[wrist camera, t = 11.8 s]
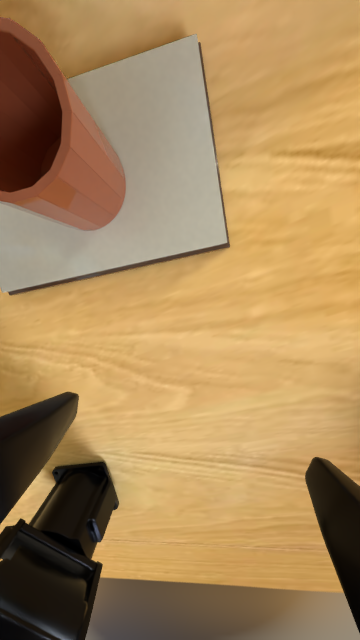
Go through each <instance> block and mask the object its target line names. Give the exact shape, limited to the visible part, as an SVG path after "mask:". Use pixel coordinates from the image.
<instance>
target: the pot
mask: <svg viewBox="0 0 360 640" xmlns="http://www.w3.org/2000/svg"><path fill="white" fill-rule="evenodd" d="M125 193H126V178H125V172H124V169H123V166H122V163H121V161H120V159H119V157H118V155H117V153H116V152H115V150H114V149H113V147H112V146H111V144H110V143H109V141H108V140H107V138H106V137H105V135H104V134H103V132H102V131H101V129H100V128H99V126H98V125H97V123H96V122H95V120H94V119H93V117H92V116H91V114H90V113H89V111H88V110H87V108H86V107H85V105H84V104H83V102H82V101H81V99H80V98H79V96H78V95H77V93H76V92H75V90H74V89H73V87H72V86H71V84H70V83H69V81H68V80H67V78H66V77H65V75H64V74H63V72H62V71H61V69H60V68H59V66H58V65H57V63H56V62H55V60H54V59H53V57H52V56H51V54H50V53H49V51H48V50H47V48H46V47H45V45H44V44H43V42H41V40H40V39H38V38H37V37H35V36H34V35H33V34H31V33H30V32H29V31H27V30H26V29H24V28H23V27H22V26H20V25H19V24H18V23H16V22H15V21H13V20H11V19H9V18H2V17H0V203H1V204H4V205H7V206H9V207H12V208H15V209H18V210H21V211H24V212H26V213H29V214H32V215H35V216H38V217H40V218H43V219H46V220H49V221H52V222H55V223H57V224H60V225H63V226H66V227H69V228H73V229H77V230H81V231H92V230H97V229H100V228H102V227H104V226H106V225H107V224H109V223H110V222H111V221H112V220H113V219H114V218H115V217H116V216H117V214H118V213H119V211H120V209H121V207H122V205H123V202H124V198H125Z"/></svg>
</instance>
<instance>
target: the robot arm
mask: <svg viewBox="0 0 360 640" xmlns="http://www.w3.org/2000/svg"><path fill="white" fill-rule="evenodd" d="M78 400H79V396H78V394H76V393H72V392H65V393H62V394H60V395H57V396H54V397H52V398H49V399H46V400H44V401H41V402H39V403H36V404H33V405H31V406H28V407H25V408H23V409H20V410H17V411H15V412H12V413H9V414H7V415H4V416H1V417H0V524H1V523H2V521H3V520H4V519H5V517H6V516H7V515H8V513H9V512H10V511H11V509H12V508H13V507H14V505H15V504H16V503H17V501H18V500H19V499H20V497H21V496H22V495H23V493H24V492H25V491H26V490H27V488H28V487H29V486H30V484H31V483H32V482H33V480H34V479H35V478H36V476H37V475H38V474H39V472H40V471H41V470H42V468H43V467H44V466H45V464H46V463H47V462H48V460H49V459H50V457H51V456H52V454H53V452H54V451H55V449H56V448H57V446H58V444H59V443H60V441H61V440H62V438H63V436H64V435H65V433H66V432H67V430H68V428H69V427H70V425H71V424H72V422H73V420H74V419H75V417H76V414H77V407H78ZM52 474H53V476H54V479H55V481H56V484H55V486H54V487H53V489H52V490H51V492H50V493H49V495H48V496H47V498H46V499H45V501H44V502H43V504H42V505H41V507H40V508H39V510H38V511H37V513H36V514H35V516H34V517H33V519H32V520H31V522H30V523H29V524H27V523H25V520H23V519H21V518H20V520H19V521H18V522H17V524H16V525H15V526H14V525H13V526H6V527H5V528H4V530H3V531H2V532H1V534H0V559H3V560H2V561H1V562H0V640H85V637H86V634H87V630H88V626H89V622H90V617H91V613H92V609H93V604H94V600H95V596H96V591H97V587H98V583H99V578H100V574H101V570H102V565H103V564H102V563H100V562H98V561H97V562H95V561H93V560H91V558H92V555H93V553H94V550H95V547H96V545H97V542H101V540H102V539H103V536H104V534H105V531H106V528H107V525H108V522H109V519H110V516H111V514H112V511H113V510H116V509H117V508H118V505H119V502H118V499H117V495H116V492H115V490H114V487H113V484H112V481H111V478H110V475H109V472H108V469H107V466H106V464H105V463H103V462H97V463H87V464H77V465H67V466H58V467H55V468H54V470H53V471H52ZM305 479H306V484H307V487H308V490H309V494H310V497H311V500H312V503H313V507H314V510H315V513H316V517H317V520H318V523H319V527H320V530H321V533H322V536H323V538H324V541H325V544H326V547H327V549H328V552H329V554H330V557H331V560H332V562H333V565H334V567H335V570H336V573H337V575H338V578H339V581H340V583H341V586H342V588H343V591H344V594H345V596H346V599H347V601H348V604H349V607H350V609H351V612H352V614H353V617H354V619H355V622H356V625H357V628H358V630H359V633H360V486H359V485H357V484H356V483H355V482H354V481H353V480H351V479H350V478H349V477H348V476H347V475H345V474H344V473H343V472H342V471H341V470H339V469H338V468H337V467H336V466H334V465H333V464H332V463H331V462H330V461H328V460H326V459H323V458H319V457H314V458H313V459H312V461H311V463H310V465H309V467H308V469H307V471H306V475H305Z"/></svg>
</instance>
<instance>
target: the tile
mask: <svg viewBox="0 0 360 640" xmlns="http://www.w3.org/2000/svg"><path fill="white" fill-rule="evenodd" d="M67 80H68V81H69V83H70V84H71V86H72V87H73V89H74V90H75V92H76V93H77V95H78V96H79V98H80V99H81V101H82V102H83V104H84V105H85V107H86V108H87V110H88V111H89V113H90V114H91V116H92V117H93V119H94V120H95V122H96V123H97V125H98V126H99V128H100V129H101V131H102V132H103V134H104V135H105V137H106V138H107V140H108V141H109V143H110V144H111V146H112V147H113V149H114V150H115V152H116V153H117V155H118V157H119V159H120V161H121V163H122V166H123V169H124V172H125V178H126V193H125V198H124V202H123V205H122V207H121V209H120V211H119V213H118V214H117V216H116V217H115V218H114V219H113V220H112V221H111V222H110V223H109V224H107V225H106V226H104V227H102V228H100V229H97V230H92V231H81V230H77V229H73V228H69V227H66V226H63V225H60V224H57V223H55V222H52V221H49V220H46V219H43V218H40V217H38V216H35V215H32V214H29V213H26V212H24V211H21V210H18V209H15V208H12V207H9V206H7V205H4V204H1V203H0V288H1V291H2V293H5V292H8V293H9V295H17V294H22V293H26V292H31V291H35V290H40V289H44V288H49V287H53V286H58V285H63V284H67V283H72V282H76V281H81V280H85V279H90V278H94V277H99V276H104V275H108V274H113V273H117V272H122V271H126V270H131V269H136V268H140V267H145V266H149V265H154V264H158V263H163V262H167V261H172V260H177V259H181V258H186V257H190V256H195V255H199V254H204V253H209V252H213V251H218V250H222V249H227V248H229V247H230V244H229V237H228V230H227V223H226V216H225V209H224V202H223V195H222V188H221V182H220V175H219V168H218V161H217V154H216V147H215V140H214V133H213V126H212V120H211V113H210V106H209V99H208V92H207V85H206V78H205V71H204V64H203V57H202V51H201V44H200V42H198V39H197V34H194V35H191V36H188V37H185V38H183V39H180V40H177V41H174V42H171V43H168V44H165V45H163V46H160V47H157V48H154V49H151V50H148V51H146V52H143V53H140V54H137V55H134V56H131V57H128V58H126V59H123V60H120V61H117V62H114V63H111V64H108V65H106V66H103V67H100V68H97V69H94V70H91V71H89V72H86V73H83V74H80V75H77V76H74V77H71V78H69V79H67Z"/></svg>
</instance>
